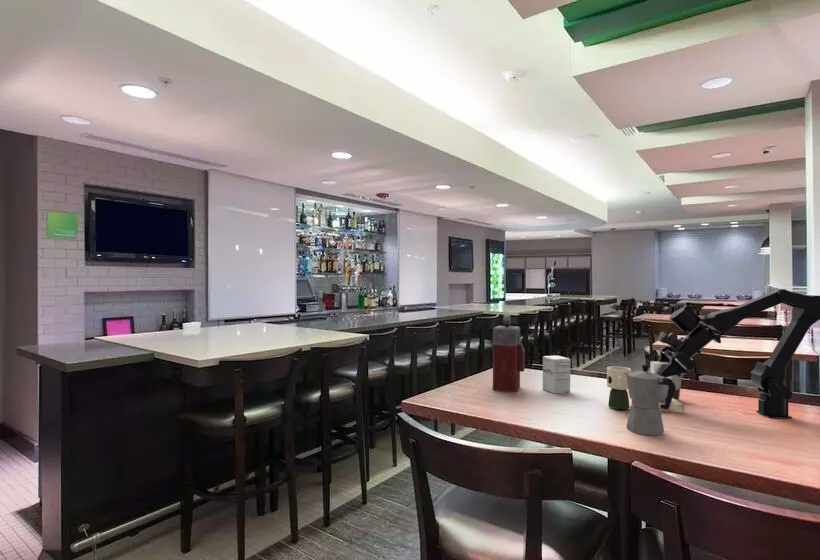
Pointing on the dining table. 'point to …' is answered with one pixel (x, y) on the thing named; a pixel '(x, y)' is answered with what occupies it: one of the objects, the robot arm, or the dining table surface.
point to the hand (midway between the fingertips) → (655, 374)
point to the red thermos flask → (507, 357)
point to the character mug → (618, 387)
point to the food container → (676, 384)
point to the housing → (657, 369)
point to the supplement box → (556, 374)
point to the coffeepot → (647, 401)
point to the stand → (673, 406)
